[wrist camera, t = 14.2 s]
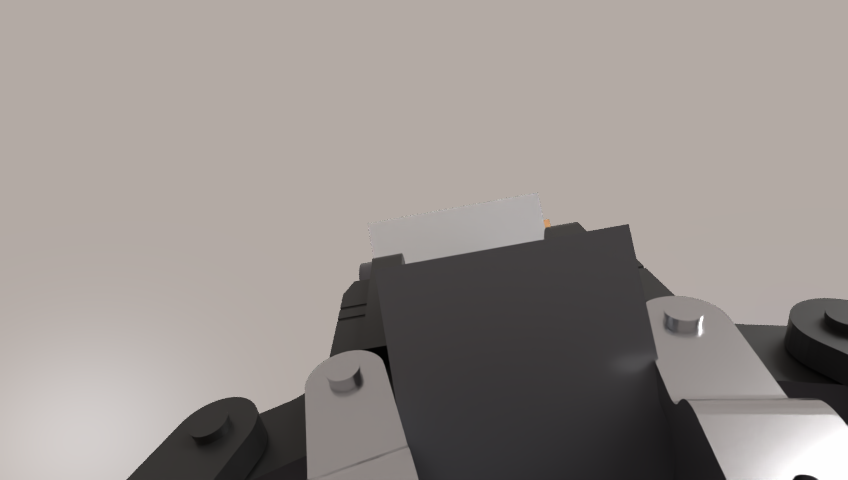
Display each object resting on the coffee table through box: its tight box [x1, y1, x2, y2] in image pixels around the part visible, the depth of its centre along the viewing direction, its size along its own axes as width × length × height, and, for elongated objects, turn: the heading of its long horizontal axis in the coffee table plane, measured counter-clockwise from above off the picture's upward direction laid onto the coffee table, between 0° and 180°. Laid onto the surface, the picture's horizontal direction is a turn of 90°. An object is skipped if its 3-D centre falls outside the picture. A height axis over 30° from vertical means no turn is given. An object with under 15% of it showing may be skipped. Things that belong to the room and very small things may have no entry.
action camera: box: [359, 193, 675, 480], centre depth 16 cm, size 9×20×6 cm, turn 178°
